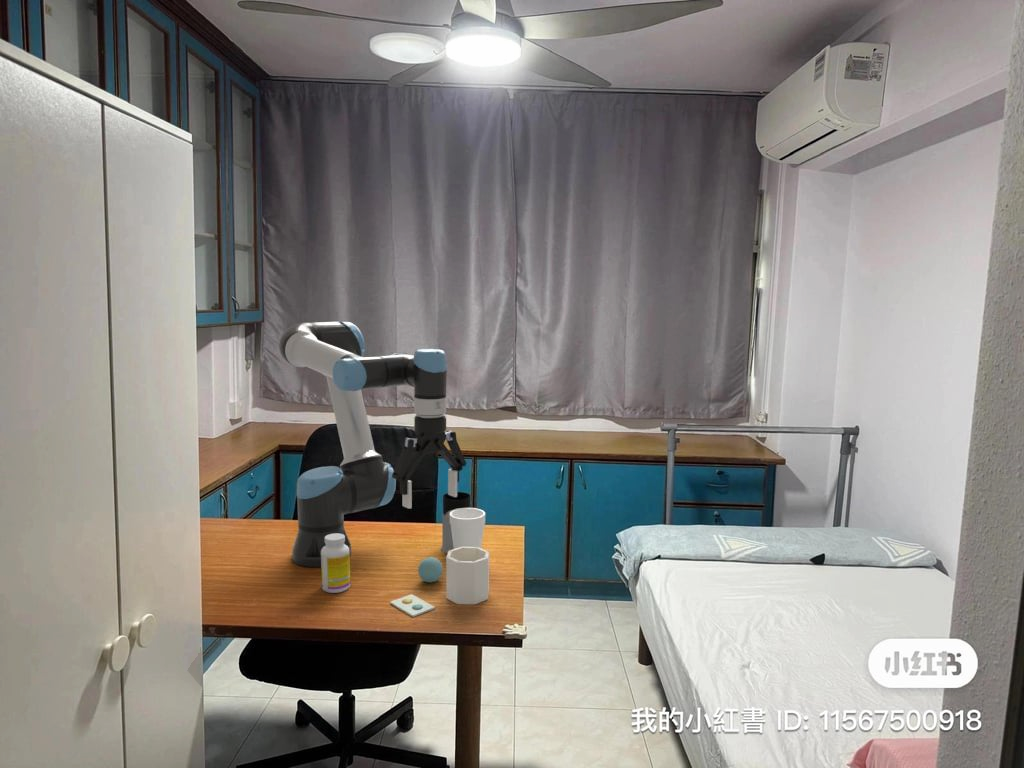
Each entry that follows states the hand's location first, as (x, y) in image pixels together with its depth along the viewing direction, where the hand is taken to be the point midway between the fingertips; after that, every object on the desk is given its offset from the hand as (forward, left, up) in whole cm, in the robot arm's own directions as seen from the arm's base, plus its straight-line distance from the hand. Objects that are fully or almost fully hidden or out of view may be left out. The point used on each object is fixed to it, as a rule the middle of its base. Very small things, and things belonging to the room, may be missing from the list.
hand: (430, 501), depth 171 cm
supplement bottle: (-12, -19, -21) cm, 31 cm away
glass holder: (-15, +20, -21) cm, 32 cm away
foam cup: (-4, +15, -21) cm, 26 cm away
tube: (+12, +2, -20) cm, 24 cm away
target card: (+8, -11, -20) cm, 24 cm away
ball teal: (0, 0, -20) cm, 20 cm away
